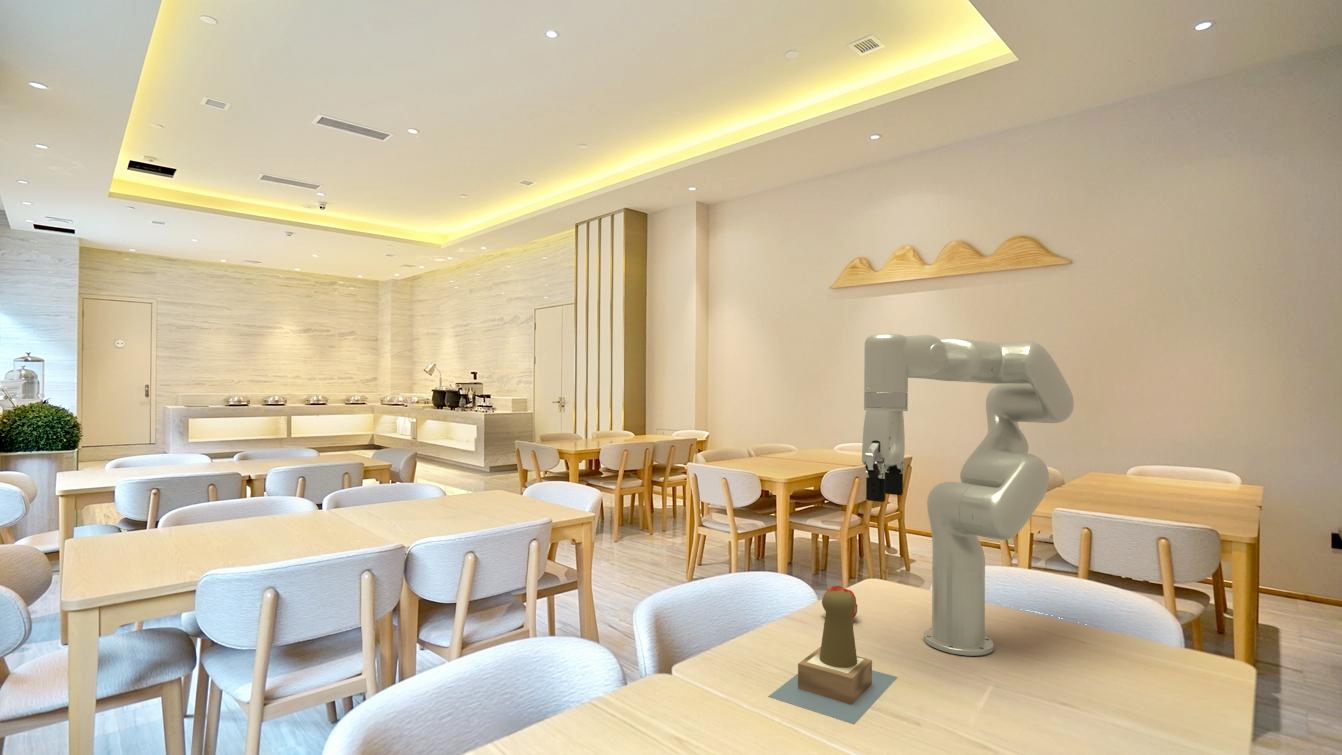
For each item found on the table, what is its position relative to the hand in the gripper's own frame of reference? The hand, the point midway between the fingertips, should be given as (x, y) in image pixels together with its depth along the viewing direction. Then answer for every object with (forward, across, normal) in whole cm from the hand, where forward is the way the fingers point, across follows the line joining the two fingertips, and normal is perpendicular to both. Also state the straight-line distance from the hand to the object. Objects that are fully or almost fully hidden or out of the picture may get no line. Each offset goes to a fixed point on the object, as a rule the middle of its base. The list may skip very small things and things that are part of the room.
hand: (884, 497), depth 118 cm
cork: (+25, +15, -3) cm, 29 cm away
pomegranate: (+31, -19, -16) cm, 39 cm away
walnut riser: (+29, +15, -3) cm, 33 cm away
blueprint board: (+30, +15, -3) cm, 34 cm away
